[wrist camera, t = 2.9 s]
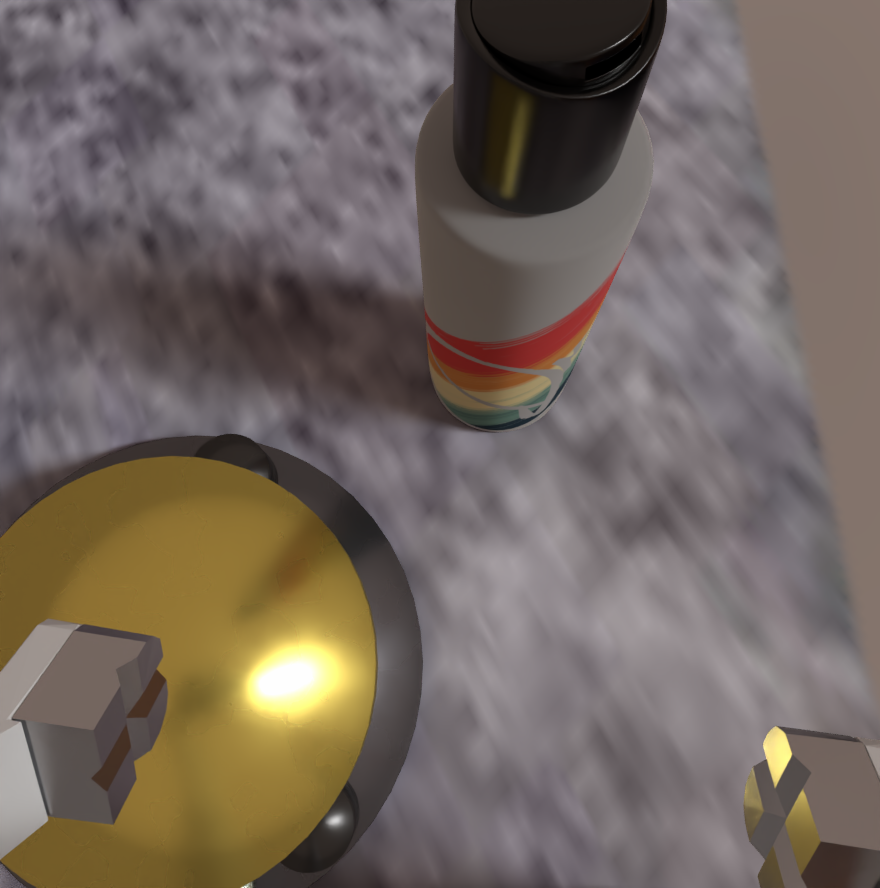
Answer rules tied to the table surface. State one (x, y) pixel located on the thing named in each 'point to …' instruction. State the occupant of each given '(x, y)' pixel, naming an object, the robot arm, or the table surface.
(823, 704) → the table surface
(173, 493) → the levelling base
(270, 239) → the table surface
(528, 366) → the lotion bottle
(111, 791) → the robot arm
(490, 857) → the table surface
